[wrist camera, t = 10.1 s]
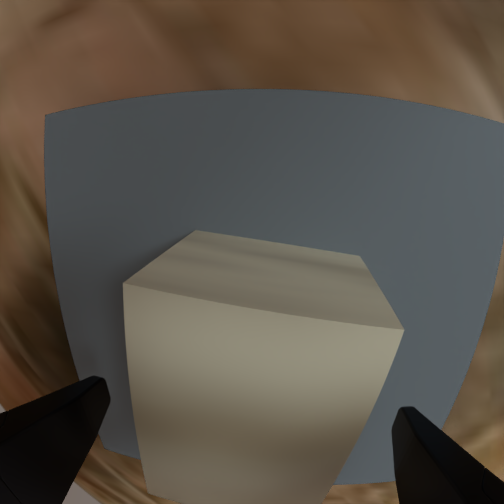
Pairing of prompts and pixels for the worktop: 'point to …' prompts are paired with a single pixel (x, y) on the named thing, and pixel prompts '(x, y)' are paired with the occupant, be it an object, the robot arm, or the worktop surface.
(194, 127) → the rubber mat
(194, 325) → the card box
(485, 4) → the worktop surface
